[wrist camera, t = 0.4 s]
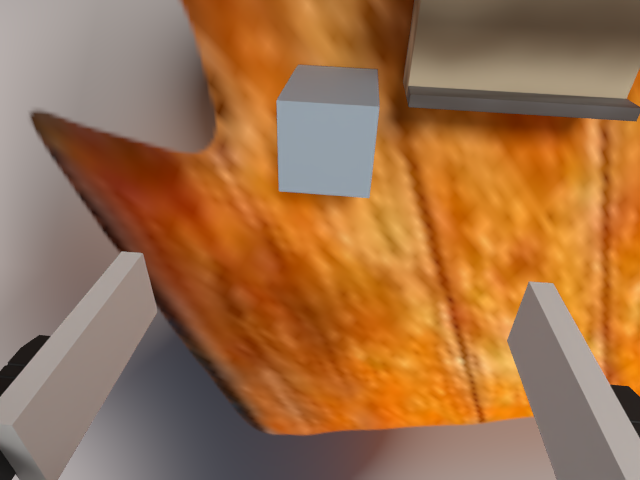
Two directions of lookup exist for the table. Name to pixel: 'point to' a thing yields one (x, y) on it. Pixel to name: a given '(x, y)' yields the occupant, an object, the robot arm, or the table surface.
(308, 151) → the grey rectangular block
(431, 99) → the grey slotted stand
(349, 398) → the table surface
